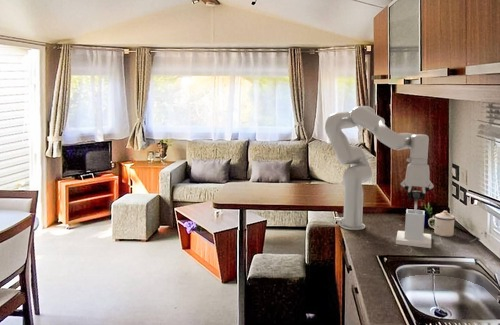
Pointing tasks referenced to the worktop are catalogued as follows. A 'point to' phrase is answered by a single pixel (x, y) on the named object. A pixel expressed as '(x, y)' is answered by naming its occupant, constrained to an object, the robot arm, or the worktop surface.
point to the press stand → (414, 230)
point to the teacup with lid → (443, 224)
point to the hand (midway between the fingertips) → (416, 200)
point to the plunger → (416, 199)
